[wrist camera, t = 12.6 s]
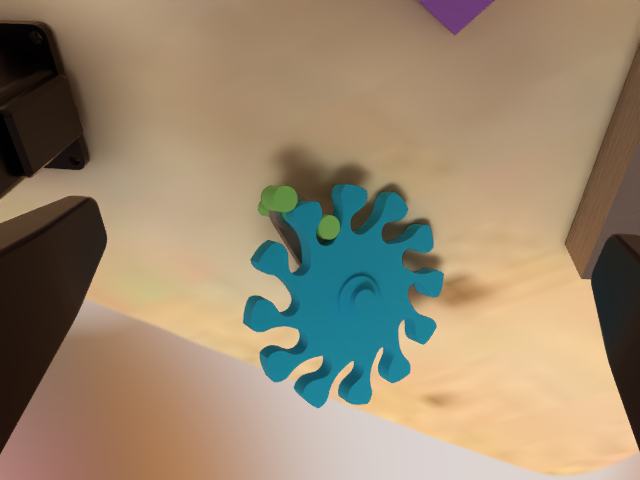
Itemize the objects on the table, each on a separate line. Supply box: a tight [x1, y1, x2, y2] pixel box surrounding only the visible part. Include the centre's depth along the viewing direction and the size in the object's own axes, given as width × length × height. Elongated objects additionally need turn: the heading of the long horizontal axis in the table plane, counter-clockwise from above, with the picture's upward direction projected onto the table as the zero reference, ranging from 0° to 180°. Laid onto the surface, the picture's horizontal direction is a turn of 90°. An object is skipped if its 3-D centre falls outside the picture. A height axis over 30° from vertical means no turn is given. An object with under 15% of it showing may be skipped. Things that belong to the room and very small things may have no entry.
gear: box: [243, 184, 444, 408], centre depth 24 cm, size 11×6×10 cm
